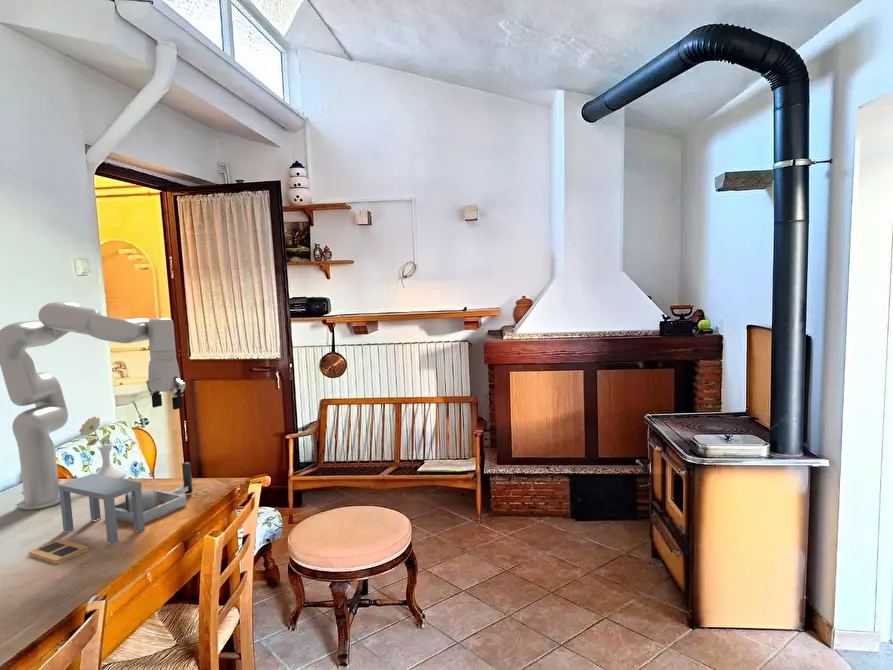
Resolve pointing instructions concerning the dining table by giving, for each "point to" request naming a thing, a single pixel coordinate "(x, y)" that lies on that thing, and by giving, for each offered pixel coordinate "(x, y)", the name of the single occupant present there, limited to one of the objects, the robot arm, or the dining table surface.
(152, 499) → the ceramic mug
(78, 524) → the dining table surface
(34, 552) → the board
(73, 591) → the dining table surface
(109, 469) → the flower in vase
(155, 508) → the grey open frame
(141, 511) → the grey side table
